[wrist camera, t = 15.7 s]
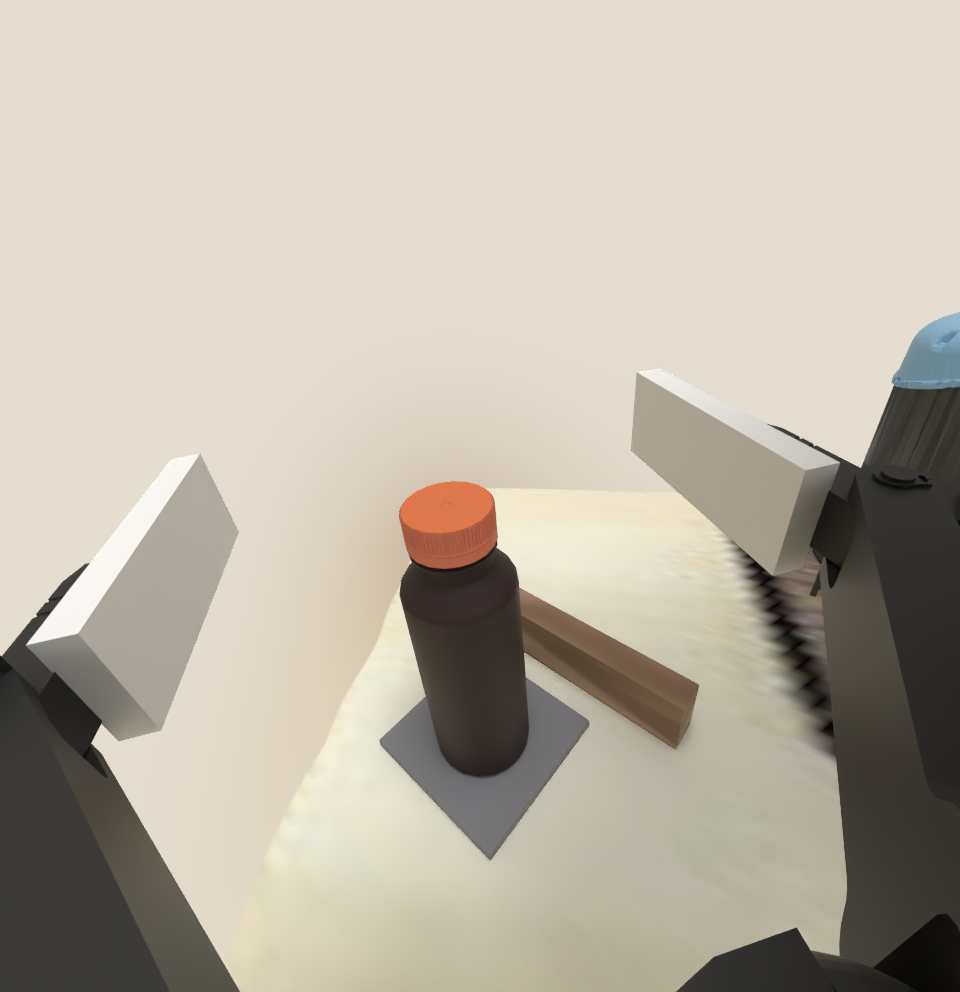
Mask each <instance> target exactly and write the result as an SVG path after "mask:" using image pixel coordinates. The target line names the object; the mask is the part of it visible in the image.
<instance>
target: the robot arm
mask: <svg viewBox="0 0 960 992" xmlns="http://www.w3.org/2000/svg"><path fill="white" fill-rule="evenodd" d="M892 383H893V384H894V387H893V389H892V392H891V394H890V397H889V399H888V402H887V404H886V407H885V409H884V412H883V415H882V417H881V420H880V422H879V424H878V427H877V430H876V432H875V435H874V437H873V440H872V442H871V444H870V447H869V449H868V452H867V454H866V457H865V460H864V462H863V465H862V467H861V468H859V467H857V466H855V465H854V464H851V463H850V462H848V461H846V460H844V459H842V458H840V457H838V456H836V455H834V454H832V453H830V452H828V451H826V450H824V449H822V448H820V447H818V446H813V444H812V443H810V442H808V441H807V440H805V439H800V438H799V436H797V435H795V434H793V433H791V432H789V431H787V430H785V429H783V428H780V427H776V426H773V425H769V424H766V423H764V422H762V421H760V420H758V419H756V418H754V417H752V416H750V415H748V414H746V413H744V412H742V411H741V410H739V409H736V408H735V407H733V406H731V405H729V404H727V403H725V402H723V401H721V400H719V399H718V398H716V397H713V396H712V395H710V394H708V393H706V392H704V391H702V390H700V389H698V388H696V387H695V386H693V385H691V384H689V383H687V382H685V381H683V380H681V379H679V378H677V377H675V376H673V375H671V374H670V373H668V372H666V371H664V370H662V369H660V368H657V369H652V370H646V371H641V372H637V377H636V389H635V403H634V417H633V430H632V445H631V451H632V452H633V453H635V454H636V455H637V456H638V457H639V458H640V459H641V460H642V461H644V462H645V463H646V464H647V465H648V466H649V467H650V468H652V469H653V470H654V471H655V472H656V473H657V474H658V475H659V476H661V477H662V478H663V479H664V480H665V481H666V482H667V483H668V484H670V485H671V486H672V487H673V488H674V489H675V490H676V491H677V492H679V493H680V494H681V495H682V496H683V497H684V498H685V499H687V500H688V501H689V502H690V503H691V504H692V505H693V506H694V507H696V508H697V509H698V510H699V511H700V512H701V513H702V514H703V515H705V516H706V517H707V518H708V519H709V520H710V521H711V522H713V523H714V524H715V525H716V526H717V527H718V528H719V529H720V530H722V531H723V532H724V533H725V534H726V535H727V536H728V537H729V538H731V539H732V540H733V541H734V542H735V543H736V544H737V545H739V546H740V547H741V548H742V549H743V550H744V551H745V552H746V553H748V554H749V555H750V556H751V557H752V558H753V559H754V560H755V561H757V562H758V563H759V564H760V565H761V566H762V567H763V568H765V569H766V570H767V571H768V572H769V573H770V574H771V575H772V576H774V575H778V574H782V573H786V572H790V571H794V570H798V569H802V568H803V567H804V564H805V561H806V558H807V555H808V553H809V550H810V547H812V548H813V550H814V552H815V554H816V556H817V557H818V559H819V560H820V562H821V563H822V564H821V566H820V569H819V572H818V574H817V577H816V579H815V582H814V585H813V587H812V590H811V593H810V595H811V596H816V595H817V592H818V590H820V589H821V594H822V605H823V616H824V627H825V638H826V650H827V661H828V672H829V683H830V694H831V705H832V716H833V727H834V739H835V750H836V761H837V772H838V783H839V794H840V805H841V817H842V828H843V839H844V850H845V861H846V872H847V898H846V904H845V909H844V913H843V918H842V922H841V931H840V943H839V946H840V956H835V955H830V954H826V953H821V952H816V951H810V949H809V947H808V946H807V944H806V942H805V941H804V939H803V937H802V936H801V934H800V932H799V931H798V929H797V928H794V929H791V930H789V931H786V932H783V933H780V934H777V935H775V936H772V937H769V938H766V939H763V940H761V941H758V942H755V943H752V944H749V945H746V946H744V947H741V948H738V949H735V950H732V951H730V952H727V953H724V954H721V955H718V956H716V957H713V958H712V959H711V960H710V961H709V962H708V963H707V964H706V965H705V966H704V967H702V968H701V969H700V970H699V971H698V972H697V973H696V974H695V975H694V976H693V977H692V978H691V979H689V980H688V981H687V982H686V983H685V984H684V985H683V986H682V987H681V988H680V989H679V990H678V991H676V992H960V312H959V313H955V314H952V315H949V316H946V317H943V318H940V319H938V320H936V321H934V322H932V323H930V324H928V325H927V326H925V327H924V328H923V329H922V330H920V331H919V333H918V334H917V335H916V336H915V337H914V339H913V341H912V343H911V345H910V347H909V349H908V351H907V354H906V356H905V358H904V360H903V362H902V365H901V367H900V369H899V370H898V371H897V372H896V373H895V374H894V376H893V379H892ZM238 532H239V531H238V529H237V527H236V525H235V523H234V521H233V519H232V517H231V515H230V513H229V511H228V509H227V507H226V505H225V503H224V501H223V499H222V497H221V495H220V493H219V491H218V489H217V487H216V485H215V483H214V481H213V479H212V477H211V475H210V473H209V471H208V469H207V467H206V465H205V463H204V461H203V458H202V456H201V454H196V455H191V456H185V457H180V458H175V459H171V460H170V462H169V463H168V464H167V465H166V467H165V468H164V469H163V470H162V472H161V473H160V474H159V476H158V477H157V478H156V479H155V481H154V482H153V483H152V485H151V486H150V487H149V488H148V490H147V491H146V492H145V493H144V495H143V496H142V497H141V499H140V500H139V501H138V502H137V504H136V505H135V506H134V508H133V509H132V510H131V511H130V513H129V514H128V515H127V516H126V518H125V519H124V520H123V522H122V523H121V524H120V526H119V527H118V528H117V529H116V531H115V532H114V533H113V534H112V536H111V537H110V538H109V539H108V541H107V542H106V543H105V545H104V546H103V547H102V549H101V550H100V551H99V552H98V554H97V555H96V556H95V558H94V559H93V560H92V561H91V563H88V564H85V565H84V566H82V567H81V568H80V569H79V570H77V571H76V572H75V573H73V574H72V575H71V576H69V577H68V578H67V579H66V580H64V581H63V582H62V583H61V584H60V586H59V587H58V588H57V589H56V591H55V592H54V593H53V594H52V595H51V597H50V598H49V602H48V603H45V604H44V606H43V607H42V608H41V609H40V610H39V611H38V613H37V614H36V615H37V617H36V618H33V619H32V620H31V621H30V623H29V624H28V625H27V626H26V627H25V629H24V630H23V631H22V632H21V634H20V635H19V636H18V637H17V638H16V640H15V641H14V642H13V643H12V645H11V646H10V647H9V648H8V649H7V651H6V652H5V653H4V654H3V656H2V657H1V656H0V992H240V991H239V989H238V988H237V986H236V984H235V982H234V981H233V979H232V977H231V976H230V974H229V972H228V970H227V969H226V967H225V965H224V964H223V962H222V960H221V958H220V957H219V955H218V953H217V952H216V950H215V948H214V946H213V945H212V943H211V941H210V940H209V938H208V936H207V935H206V933H205V931H204V929H203V928H202V926H201V924H200V922H199V921H198V919H197V917H196V915H195V914H194V912H193V910H192V909H191V907H190V905H189V903H188V902H187V900H186V898H185V896H184V895H183V893H182V891H181V890H180V888H179V886H178V884H177V883H176V881H175V879H174V878H173V876H172V874H171V873H170V871H169V869H168V867H167V866H166V864H165V862H164V861H163V859H162V857H161V855H160V854H159V852H158V850H157V848H156V847H155V845H154V843H153V841H152V840H151V838H150V836H149V835H148V833H147V831H146V830H145V828H144V826H143V824H142V823H141V821H140V819H139V817H138V816H137V814H136V812H135V811H134V809H133V807H132V805H131V804H130V802H129V800H128V798H127V797H126V795H125V793H124V792H123V790H122V788H121V786H120V785H119V783H118V781H117V780H116V778H115V776H114V775H113V773H112V771H111V769H110V768H109V766H108V764H107V762H106V761H105V759H104V757H103V756H102V754H101V753H100V752H99V751H98V750H97V749H96V748H95V747H94V746H93V745H92V744H91V742H92V740H93V738H94V736H95V735H96V733H97V731H98V729H99V727H100V725H101V724H103V726H104V727H105V728H107V730H108V731H109V732H110V733H111V734H112V735H113V736H114V737H115V738H116V739H117V740H118V741H121V740H125V739H129V738H133V737H137V736H141V735H145V734H149V733H152V732H156V731H161V729H162V727H163V724H164V721H165V719H166V716H167V714H168V711H169V709H170V706H171V704H172V701H173V698H174V696H175V693H176V691H177V688H178V686H179V683H180V680H181V678H182V676H183V673H184V670H185V668H186V665H187V663H188V660H189V658H190V655H191V653H192V650H193V647H194V645H195V642H196V640H197V637H198V635H199V632H200V630H201V627H202V624H203V622H204V619H205V617H206V614H207V612H208V609H209V607H210V604H211V602H212V599H213V596H214V594H215V591H216V589H217V586H218V584H219V581H220V579H221V576H222V573H223V571H224V568H225V566H226V563H227V560H228V558H229V556H230V553H231V550H232V548H233V545H234V543H235V540H236V538H237V535H238Z"/></svg>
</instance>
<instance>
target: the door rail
mask: <svg viewBox="0 0 960 992" xmlns="http://www.w3.org/2000/svg"><path fill="white" fill-rule="evenodd" d="M519 592H520V606H521V620H522V634H523V648H524V652H526V653H527V654H529V655H530V656H532V657H533V658H535V659H536V660H538V661H540V662H541V663H543V664H544V665H546V666H547V667H549V668H550V669H552V670H554V671H555V672H557V673H558V674H560V675H561V676H563V677H564V678H566V679H568V680H569V681H571V682H572V683H574V684H575V685H577V686H578V687H580V688H582V689H583V690H585V691H586V692H588V693H589V694H591V695H592V696H594V697H596V698H597V699H599V700H600V701H602V702H603V703H605V704H606V705H608V706H610V707H611V708H613V709H614V710H616V711H617V712H619V713H620V714H622V715H624V716H625V717H627V718H628V719H630V720H631V721H633V722H634V723H636V724H638V725H639V726H641V727H642V728H644V729H645V730H647V731H648V732H650V733H652V734H653V735H655V736H656V737H658V738H659V739H661V740H662V741H664V742H666V743H667V744H669V745H670V746H672V747H673V748H675V749H676V747H677V745H678V744H679V742H680V740H681V738H682V737H683V735H684V733H685V731H686V729H687V728H688V726H689V724H690V720H691V716H692V712H693V708H694V704H695V700H696V696H697V692H698V687H699V685H698V684H697V683H695V682H693V681H691V680H689V679H687V678H685V677H684V676H682V675H680V674H678V673H676V672H674V671H672V670H671V669H669V668H667V667H665V666H663V665H661V664H660V663H658V662H656V661H654V660H652V659H650V658H648V657H647V656H645V655H643V654H641V653H639V652H637V651H635V650H634V649H632V648H630V647H628V646H626V645H624V644H622V643H621V642H619V641H617V640H615V639H613V638H611V637H610V636H608V635H606V634H604V633H602V632H600V631H598V630H597V629H595V628H593V627H591V626H589V625H587V624H585V623H584V622H582V621H580V620H578V619H576V618H574V617H572V616H571V615H569V614H567V613H565V612H563V611H561V610H560V609H558V608H556V607H554V606H552V605H550V604H548V603H547V602H545V601H543V600H541V599H539V598H537V597H535V596H534V595H532V594H530V593H528V592H526V591H524V590H523V589H521V588H519Z"/></svg>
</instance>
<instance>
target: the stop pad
mask: <svg viewBox="0 0 960 992" xmlns="http://www.w3.org/2000/svg"><path fill="white" fill-rule="evenodd" d="M526 691H527V705H528V719H529V733H528V739H527V744H526V746H525V748H524V749H523V751H522V753H521V755H520V757H519V758H518V759H517V760H516V761H515V762H514V763H513V764H512V765H511V766H510V767H508V768H507V769H505V770H503V771H501V772H498V773H496V774H494V775H487V776H474V775H470V774H465V773H463V772H461V771H459V770H458V769H456V768H455V767H453V766H452V765H450V763H449V762H448V761H447V759H446V758H445V757H444V756H443V754H442V753H441V750H440V747H439V744H438V741H437V737H436V733H435V730H434V726H433V722H432V718H431V714H430V710H429V706H428V703H427V699H426V697H425V698H424V699H423V700H422V701H421V702H420V703H418V704H417V705H416V706H415V707H414V708H413V709H412V710H411V711H410V712H409V713H408V714H407V715H406V716H405V717H404V718H402V719H401V720H400V721H399V722H398V723H397V724H396V725H395V726H394V727H393V728H392V729H391V730H390V731H389V732H388V733H387V734H385V735H384V736H383V737H382V738H381V739H380V740H379V741H380V743H381V745H382V746H383V747H384V748H385V749H386V750H387V752H388V753H389V754H390V755H391V756H392V757H393V758H394V759H395V760H396V761H397V762H398V763H399V764H400V765H401V766H402V767H403V768H404V769H405V771H406V772H407V773H408V774H409V775H410V776H411V777H412V778H413V779H414V780H415V781H416V782H417V783H418V784H419V785H420V786H421V787H422V788H423V790H424V791H425V792H426V793H427V794H428V795H429V796H430V797H431V798H432V799H433V800H434V801H435V802H436V803H437V804H438V805H439V806H440V807H441V808H442V810H443V811H444V812H445V813H446V814H447V815H448V816H449V817H450V818H451V819H452V820H453V821H454V822H455V823H456V824H457V825H458V826H459V827H460V829H461V830H462V831H463V832H464V833H465V834H466V835H467V836H468V837H469V838H470V839H471V840H472V841H473V842H474V843H475V844H476V845H477V846H478V848H479V849H480V850H481V851H482V852H483V853H484V854H485V855H486V856H487V857H488V858H489V859H490V860H491V859H492V857H493V856H494V854H495V853H496V852H497V850H498V849H499V848H500V846H501V845H502V843H503V842H504V841H505V839H506V838H507V837H508V835H509V834H510V833H511V831H512V830H513V828H514V827H515V826H516V824H517V823H518V822H519V820H520V819H521V818H522V816H523V815H524V813H525V812H526V811H527V809H528V808H529V807H530V805H531V804H532V802H533V801H534V800H535V798H536V797H537V796H538V794H539V793H540V792H541V790H542V789H543V787H544V786H545V785H546V783H547V782H548V781H549V779H550V778H551V777H552V775H553V774H554V772H555V771H556V770H557V768H558V767H559V766H560V764H561V763H562V761H563V760H564V759H565V757H566V756H567V755H568V753H569V752H570V751H571V749H572V748H573V746H574V745H575V744H576V742H577V741H578V740H579V738H580V737H581V736H582V734H583V733H584V731H585V730H586V729H587V727H588V726H589V720H587V719H586V718H584V717H583V716H581V715H580V714H578V713H577V712H576V711H574V710H573V709H571V708H570V707H568V706H567V705H565V704H564V703H562V702H561V701H559V700H558V699H557V698H555V697H554V696H552V695H551V694H549V693H548V692H546V691H545V690H543V689H542V688H541V687H539V686H538V685H536V684H535V683H533V682H532V681H530V680H529V679H527V678H526Z"/></svg>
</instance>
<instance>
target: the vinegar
mask: <svg viewBox="0 0 960 992" xmlns="http://www.w3.org/2000/svg"><path fill="white" fill-rule="evenodd" d="M403 503H404V504H402V507H401V509H400V511H399V518H400V523H401V527H402V531H403V536H404V541H405V545H406V548H407V551H408V553H409V556H410V559H411V561H412V563H411V564H410V565H409V567H408V569H407V570H406V572H405V574H404V575H403V578H402V580H401V587H400V598H401V602H402V606H403V610H404V614H405V618H406V622H407V625H408V629H409V633H410V637H411V641H412V645H413V649H414V652H415V656H416V660H417V664H418V668H419V672H420V676H421V679H422V683H423V687H424V691H425V695H426V699H427V703H428V706H429V710H430V714H431V718H432V722H433V726H434V730H435V733H436V737H437V741H438V744H439V747H440V750H441V753H442V754H443V756H444V757H445V758H446V759H447V761H448V762H449V763H450V765H452V766H453V767H455V768H456V769H458V770H459V771H461V772H463V773H465V774H470V775H474V776H487V775H494V774H496V773H498V772H501V771H503V770H505V769H507V768H508V767H510V766H511V765H512V764H513V763H514V762H515V761H516V760H517V759H518V758H519V757H520V755H521V753H522V751H523V749H524V748H525V746H526V744H527V739H528V733H529V719H528V705H527V691H526V676H525V662H524V648H523V634H522V620H521V606H520V592H519V581H518V576H517V570H516V567H515V566H514V564H513V563H512V561H511V560H510V559H509V557H508V556H507V555H506V554H505V553H503V552H502V551H500V550H499V549H497V548H496V547H497V538H498V535H497V525H496V524H497V523H496V512H495V502H494V498H493V496H492V494H491V495H490V493H489V491H487V490H486V489H484V488H482V487H480V486H479V485H476V484H472V483H468V482H454V481H453V482H445V483H438V484H435V485H431V486H428V487H425V488H423V489H421V490H419V491H417V492H415V493H414V494H412V495H411V496H410V497H408V498H407V499H406V500H405V502H403Z"/></svg>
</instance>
